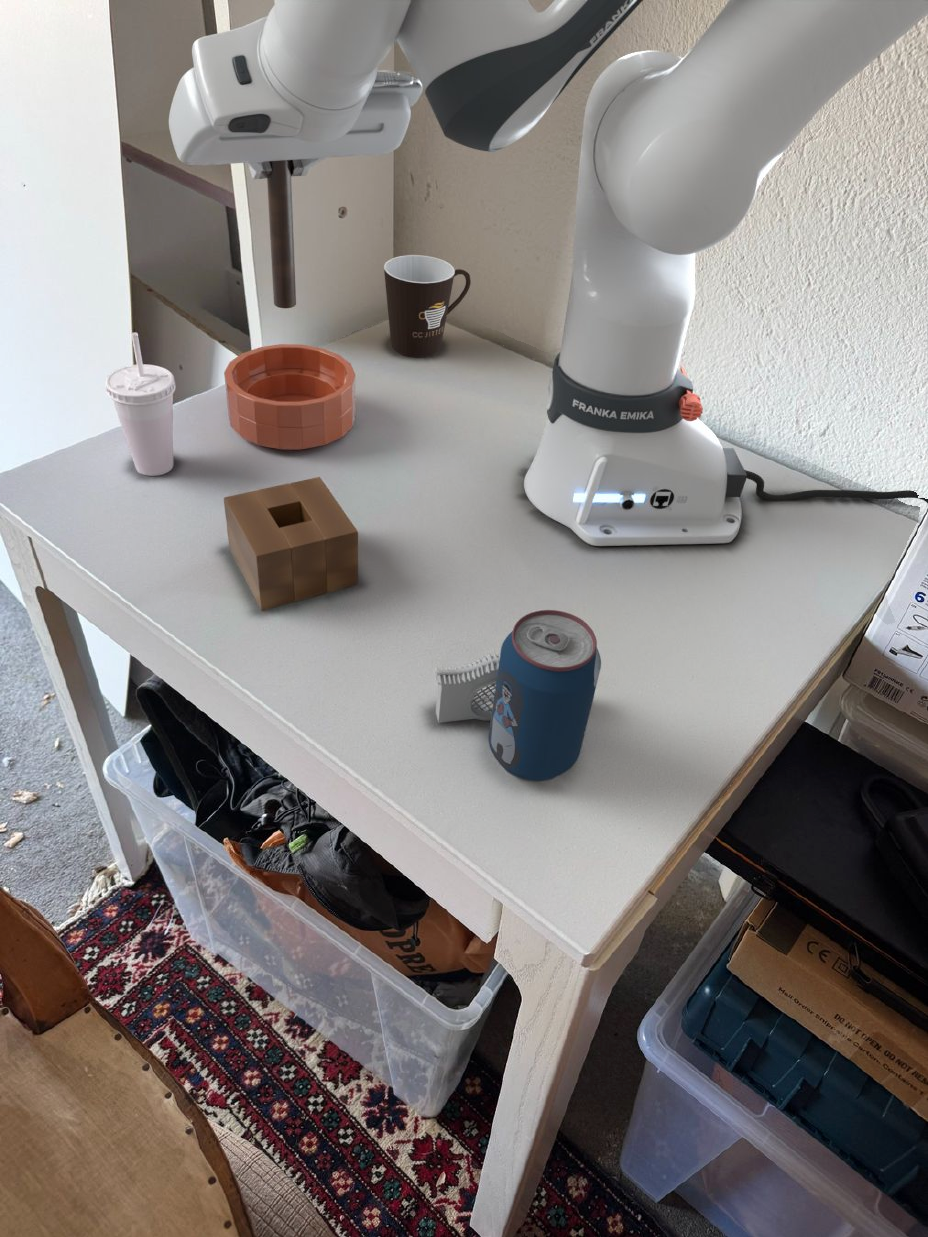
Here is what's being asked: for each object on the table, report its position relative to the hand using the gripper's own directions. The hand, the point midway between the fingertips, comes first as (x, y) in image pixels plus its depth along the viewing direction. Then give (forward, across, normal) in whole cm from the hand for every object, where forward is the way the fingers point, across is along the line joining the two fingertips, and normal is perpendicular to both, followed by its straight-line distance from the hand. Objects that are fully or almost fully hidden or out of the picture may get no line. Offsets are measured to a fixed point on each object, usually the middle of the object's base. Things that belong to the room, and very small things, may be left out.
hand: (276, 170), depth 86 cm
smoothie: (+16, +16, +21) cm, 31 cm away
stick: (+8, 0, +9) cm, 13 cm away
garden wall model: (-15, -1, +52) cm, 55 cm away
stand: (+1, +8, +36) cm, 37 cm away
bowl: (+18, 0, +19) cm, 26 cm away
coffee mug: (+27, -23, +10) cm, 37 cm away
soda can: (-18, 0, +56) cm, 58 cm away
